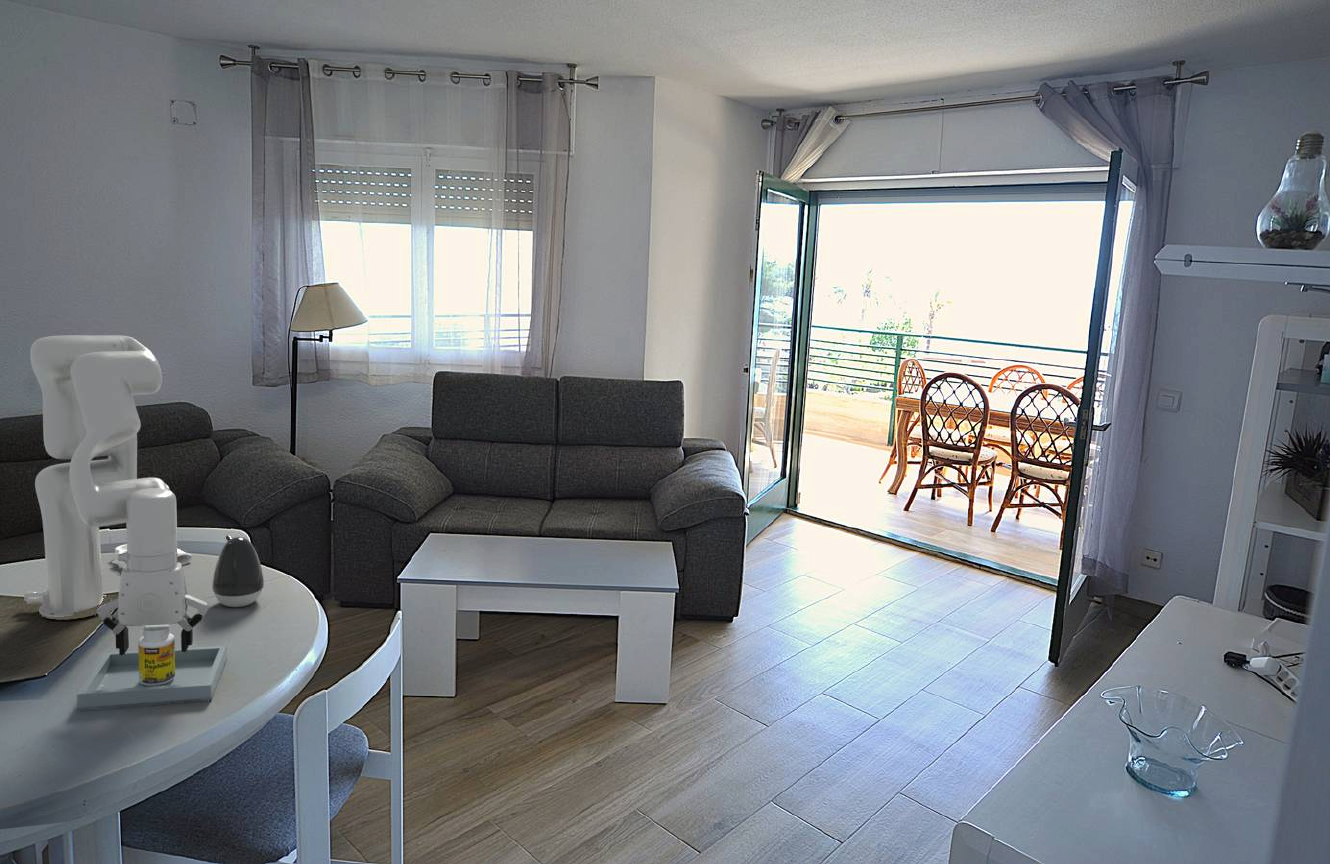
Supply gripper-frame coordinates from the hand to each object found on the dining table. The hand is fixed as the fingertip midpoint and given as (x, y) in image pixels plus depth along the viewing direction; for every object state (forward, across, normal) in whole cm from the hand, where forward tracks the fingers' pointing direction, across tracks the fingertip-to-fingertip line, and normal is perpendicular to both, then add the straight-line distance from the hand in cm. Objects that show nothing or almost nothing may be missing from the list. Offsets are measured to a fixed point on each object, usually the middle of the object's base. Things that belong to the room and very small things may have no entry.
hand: (155, 650), depth 154 cm
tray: (+6, 0, -1) cm, 6 cm away
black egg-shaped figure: (+7, +8, +36) cm, 38 cm away
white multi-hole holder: (+8, -15, +64) cm, 67 cm away
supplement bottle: (+6, 0, 0) cm, 6 cm away
